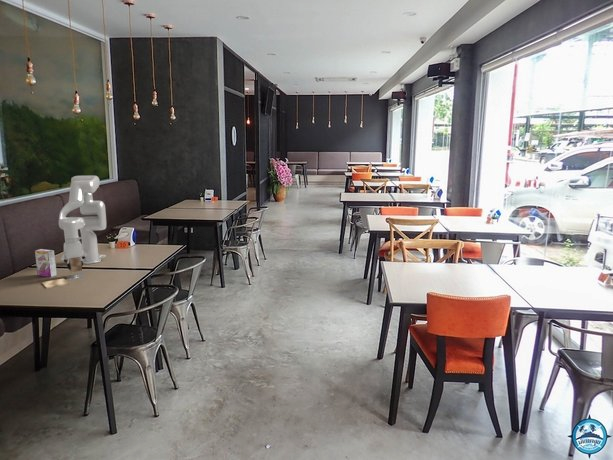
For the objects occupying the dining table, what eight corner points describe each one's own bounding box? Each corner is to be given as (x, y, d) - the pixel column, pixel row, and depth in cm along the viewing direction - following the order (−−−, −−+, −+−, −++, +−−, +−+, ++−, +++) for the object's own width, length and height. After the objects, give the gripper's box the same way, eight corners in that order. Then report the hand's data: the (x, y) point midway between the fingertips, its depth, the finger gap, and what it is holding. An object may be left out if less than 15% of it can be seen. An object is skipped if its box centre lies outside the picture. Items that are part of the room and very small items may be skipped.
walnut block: (79, 267, 300) (78, 255, 298) (82, 270, 296) (80, 257, 294) (69, 269, 297) (67, 257, 295) (71, 272, 292) (70, 259, 290)
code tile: (81, 274, 302) (81, 273, 302) (85, 277, 295) (85, 277, 295) (66, 276, 296) (66, 276, 296) (69, 280, 290) (69, 279, 290)
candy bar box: (37, 276, 299) (34, 250, 295) (43, 273, 303) (40, 248, 300) (50, 277, 295) (47, 251, 292) (57, 275, 300) (54, 250, 296)
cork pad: (63, 279, 291) (63, 278, 291) (68, 284, 282) (68, 282, 281) (42, 283, 283) (41, 282, 283) (46, 288, 274) (46, 287, 274)
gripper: (85, 236, 300) (88, 263, 304) (55, 241, 289) (58, 269, 293) (88, 239, 294) (91, 266, 298) (58, 243, 283) (61, 272, 288)
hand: (75, 267), depth 296 cm, fingers closed on walnut block, 6 cm apart
